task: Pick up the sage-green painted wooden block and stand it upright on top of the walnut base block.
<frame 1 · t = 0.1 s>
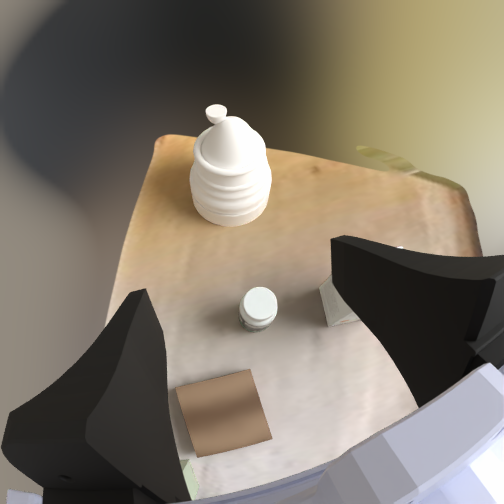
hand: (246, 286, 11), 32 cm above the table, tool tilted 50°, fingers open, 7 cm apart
walnut base: (223, 412, 37), on the table
small box: (346, 302, 45), on the table
sage block: (179, 475, 33), on the table
pill bottle: (254, 317, 43), on the table
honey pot: (230, 194, 51), on the table
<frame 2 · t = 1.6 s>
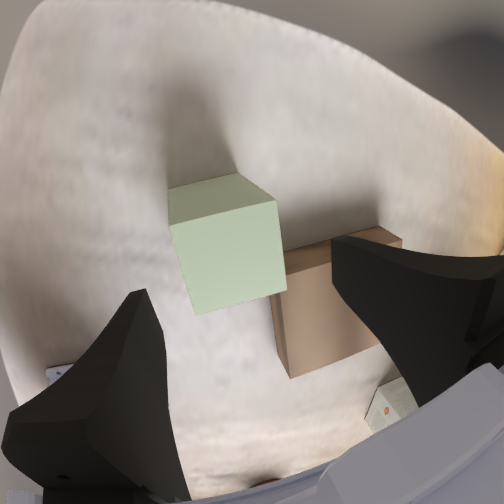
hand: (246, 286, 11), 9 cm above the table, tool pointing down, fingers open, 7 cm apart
walnut base: (328, 294, 25), on the table
small box: (387, 395, 36), on the table
sage block: (210, 214, 19), on the table
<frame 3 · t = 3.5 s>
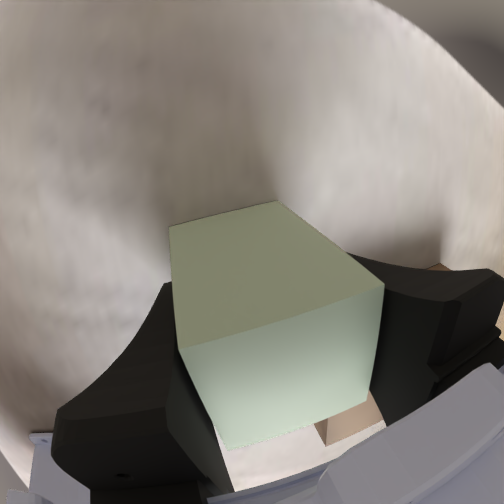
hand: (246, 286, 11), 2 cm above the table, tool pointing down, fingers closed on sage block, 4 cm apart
walnut base: (375, 348, 18), on the table
sage block: (234, 262, 13), on the table, touching gripper
when the fingers open (6 cm above the table, at t = 8.3 s): sage block stays where it is, resting on walnut base.
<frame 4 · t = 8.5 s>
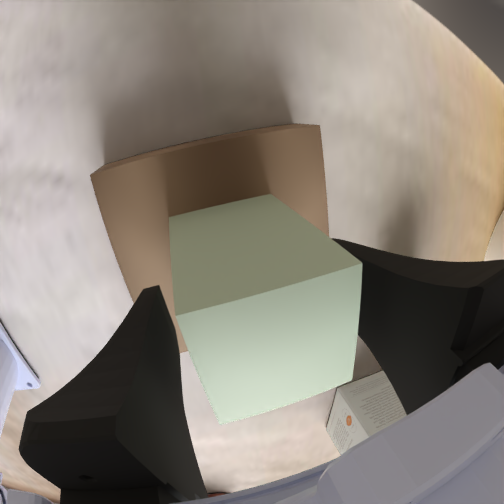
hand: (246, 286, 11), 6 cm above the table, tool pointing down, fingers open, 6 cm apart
supplement bottle: (212, 497, 32), on the table
walnut base: (218, 230, 16), on the table
small box: (355, 399, 28), on the table
sage block: (229, 251, 14), point 3 cm above the table, touching walnut base
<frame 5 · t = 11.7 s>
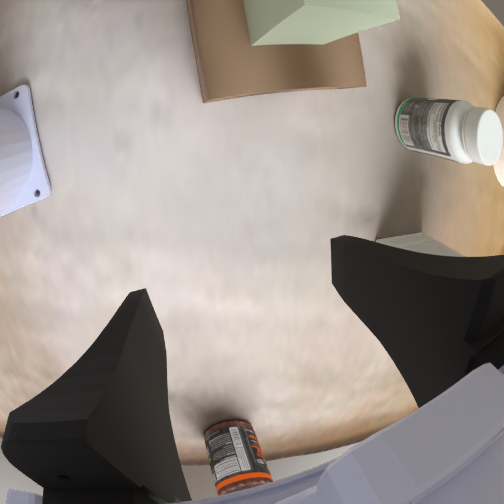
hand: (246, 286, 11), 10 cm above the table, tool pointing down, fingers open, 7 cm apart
supplement bottle: (227, 430, 31), on the table
walnut base: (267, 25, 16), on the table
small box: (392, 271, 28), on the table
sage block: (283, 11, 13), point 3 cm above the table, touching walnut base
pill bottle: (410, 123, 22), on the table
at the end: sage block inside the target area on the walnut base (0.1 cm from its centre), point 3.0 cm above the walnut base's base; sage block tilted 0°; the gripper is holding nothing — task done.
